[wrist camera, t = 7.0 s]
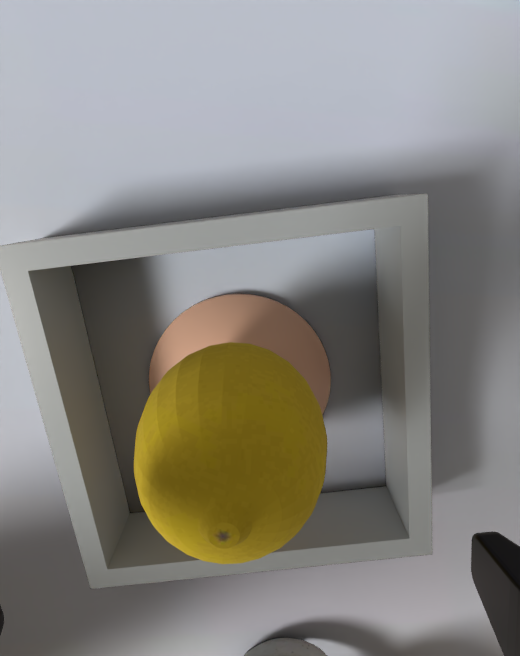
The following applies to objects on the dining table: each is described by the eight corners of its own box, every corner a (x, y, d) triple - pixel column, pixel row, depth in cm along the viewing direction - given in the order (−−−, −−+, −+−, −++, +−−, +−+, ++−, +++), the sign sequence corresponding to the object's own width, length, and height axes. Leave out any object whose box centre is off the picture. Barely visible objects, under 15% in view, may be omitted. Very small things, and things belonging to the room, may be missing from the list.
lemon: (312, 316, 16) (364, 422, 9) (305, 448, 18) (343, 637, 10) (161, 313, 16) (79, 419, 9) (168, 447, 18) (103, 636, 10)
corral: (405, 500, 19) (432, 554, 16) (115, 530, 19) (90, 589, 16) (395, 194, 15) (427, 193, 13) (41, 238, 16) (-7, 246, 13)
